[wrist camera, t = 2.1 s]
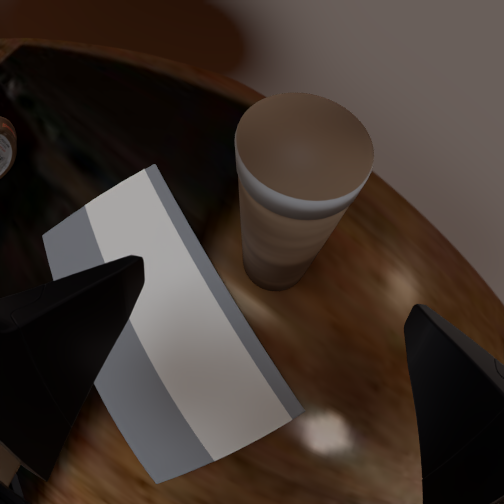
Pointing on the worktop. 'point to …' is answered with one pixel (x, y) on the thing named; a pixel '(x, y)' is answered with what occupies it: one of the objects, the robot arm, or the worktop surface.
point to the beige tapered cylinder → (295, 181)
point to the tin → (7, 146)
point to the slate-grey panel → (173, 335)
